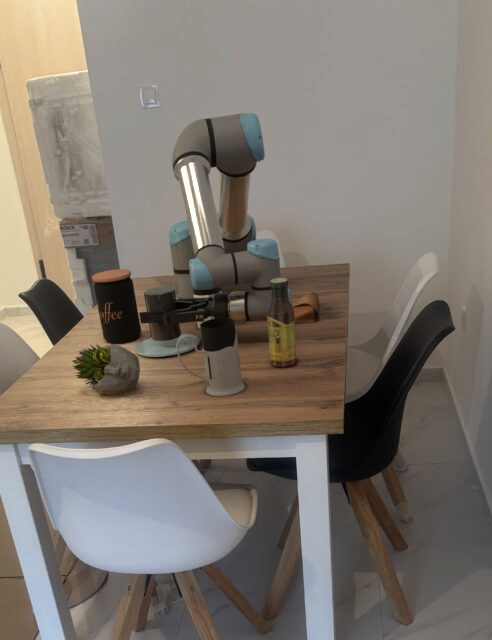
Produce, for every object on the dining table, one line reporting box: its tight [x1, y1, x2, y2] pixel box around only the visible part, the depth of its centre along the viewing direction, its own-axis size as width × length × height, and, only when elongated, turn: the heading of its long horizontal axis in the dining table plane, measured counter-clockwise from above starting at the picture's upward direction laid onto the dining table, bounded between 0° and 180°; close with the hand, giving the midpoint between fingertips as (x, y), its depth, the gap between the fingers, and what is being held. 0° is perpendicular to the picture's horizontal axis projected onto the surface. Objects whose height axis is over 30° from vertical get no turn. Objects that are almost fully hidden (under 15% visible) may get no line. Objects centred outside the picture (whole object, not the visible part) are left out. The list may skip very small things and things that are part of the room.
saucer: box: [135, 333, 201, 358], centre depth 204 cm, size 17×17×1 cm
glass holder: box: [176, 318, 246, 397], centre depth 168 cm, size 9×14×15 cm, turn 111°
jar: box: [192, 286, 223, 330], centre depth 215 cm, size 9×8×12 cm
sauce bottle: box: [267, 277, 297, 368], centre depth 178 cm, size 7×6×20 cm
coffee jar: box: [91, 268, 142, 345], centre depth 212 cm, size 11×11×18 cm
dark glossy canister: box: [143, 285, 182, 341], centre depth 199 cm, size 8×8×12 cm
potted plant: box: [71, 343, 141, 397], centre depth 177 cm, size 12×13×15 cm
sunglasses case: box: [292, 291, 320, 324], centre depth 217 cm, size 18×7×7 cm, turn 174°
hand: (145, 312), depth 200 cm, fingers closed on dark glossy canister, 8 cm apart
